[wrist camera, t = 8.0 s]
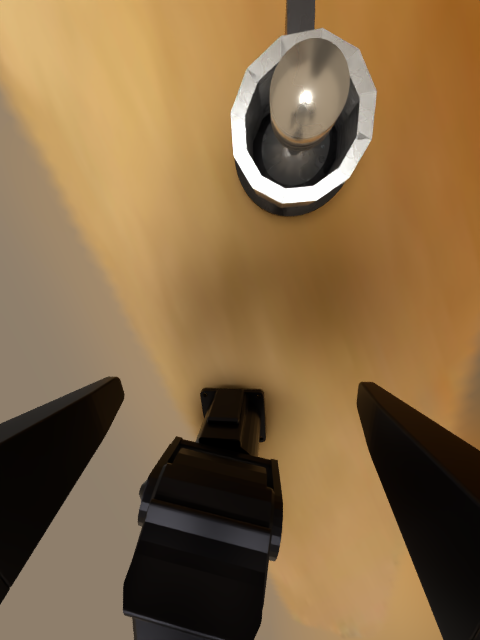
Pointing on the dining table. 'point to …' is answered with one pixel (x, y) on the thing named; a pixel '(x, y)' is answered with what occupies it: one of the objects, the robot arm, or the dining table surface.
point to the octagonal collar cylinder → (255, 117)
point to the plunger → (304, 109)
